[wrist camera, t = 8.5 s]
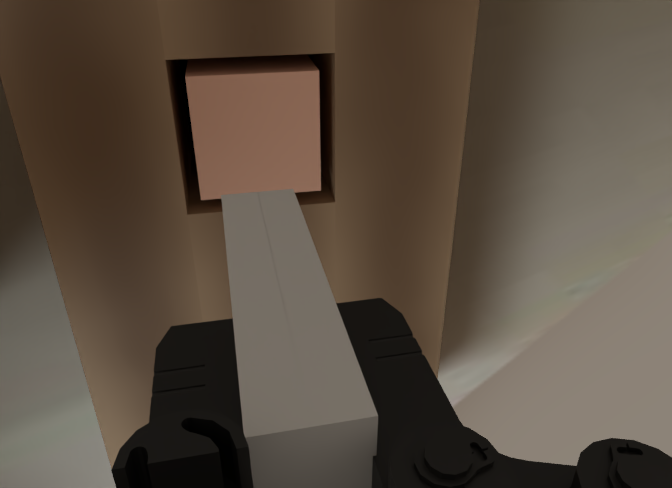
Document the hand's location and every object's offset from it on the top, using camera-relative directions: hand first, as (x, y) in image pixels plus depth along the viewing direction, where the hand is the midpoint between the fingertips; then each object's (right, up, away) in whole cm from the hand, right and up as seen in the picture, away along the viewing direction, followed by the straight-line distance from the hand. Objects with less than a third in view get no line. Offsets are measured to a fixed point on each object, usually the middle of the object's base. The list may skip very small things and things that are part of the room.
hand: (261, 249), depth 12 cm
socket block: (-2, +1, +14) cm, 14 cm away
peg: (-2, +6, +11) cm, 13 cm away
